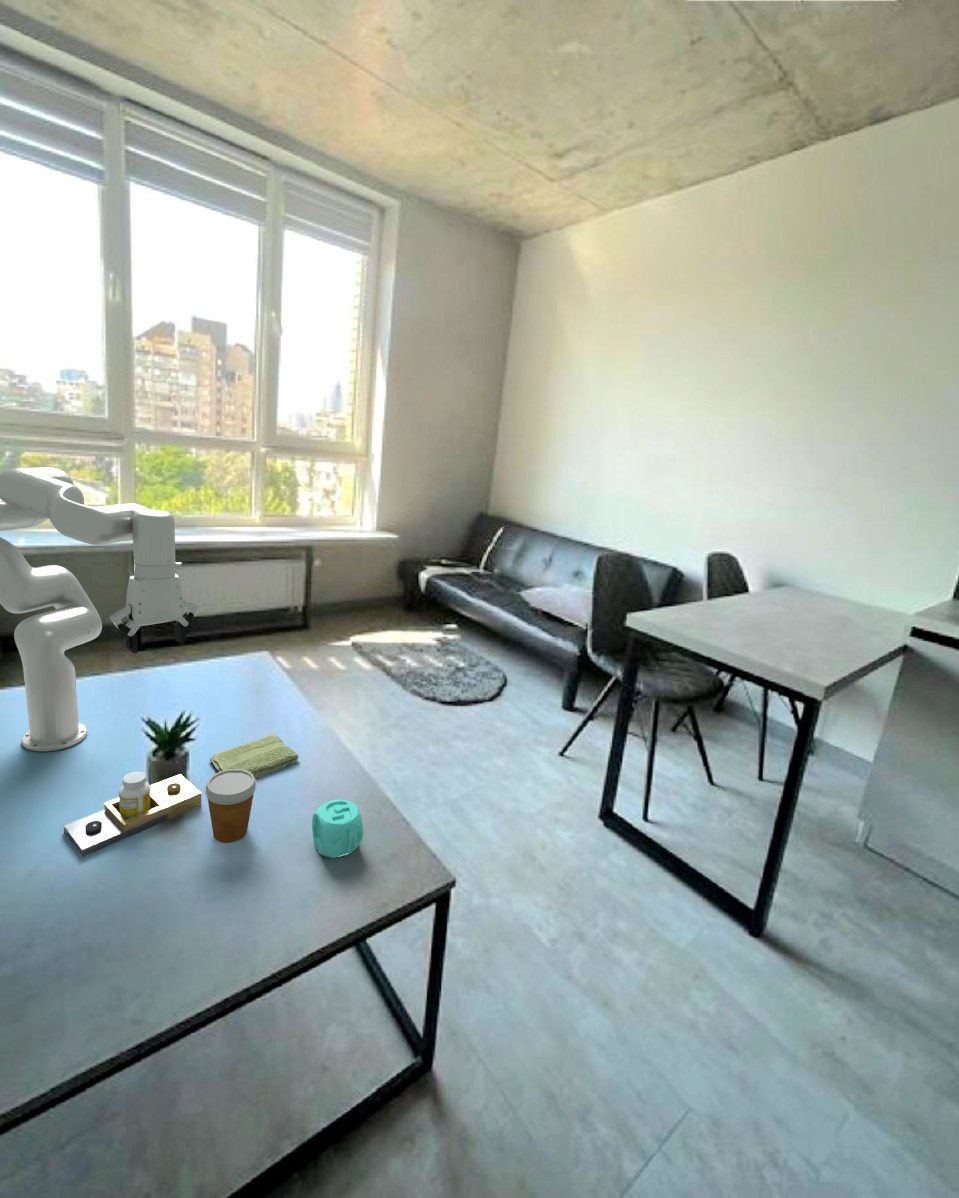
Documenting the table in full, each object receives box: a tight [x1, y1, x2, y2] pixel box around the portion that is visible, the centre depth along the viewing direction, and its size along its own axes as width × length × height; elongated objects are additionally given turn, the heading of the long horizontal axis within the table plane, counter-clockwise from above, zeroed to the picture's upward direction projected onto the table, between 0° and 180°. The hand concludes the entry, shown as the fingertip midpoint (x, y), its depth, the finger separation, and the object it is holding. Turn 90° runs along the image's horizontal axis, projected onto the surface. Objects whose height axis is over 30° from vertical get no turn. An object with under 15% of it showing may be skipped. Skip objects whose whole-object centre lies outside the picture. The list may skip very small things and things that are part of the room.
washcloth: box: [209, 733, 299, 779], centre depth 138 cm, size 13×18×3 cm
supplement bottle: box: [118, 771, 151, 820], centre depth 114 cm, size 5×5×10 cm
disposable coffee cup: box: [204, 769, 258, 844], centre depth 113 cm, size 10×10×12 cm
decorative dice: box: [311, 799, 364, 859], centre depth 115 cm, size 8×8×8 cm
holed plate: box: [63, 773, 202, 858], centre depth 115 cm, size 9×22×4 cm, turn 143°
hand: (157, 646), depth 123 cm, fingers open, 9 cm apart
